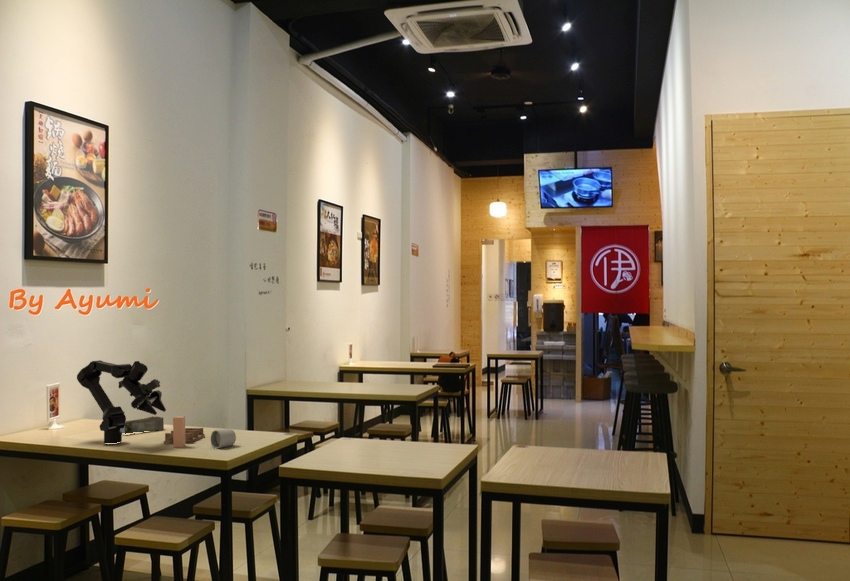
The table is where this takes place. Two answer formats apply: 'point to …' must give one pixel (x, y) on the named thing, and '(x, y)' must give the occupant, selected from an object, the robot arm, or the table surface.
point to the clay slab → (179, 431)
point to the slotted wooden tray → (186, 435)
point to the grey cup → (222, 438)
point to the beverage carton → (143, 425)
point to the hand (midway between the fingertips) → (160, 412)
